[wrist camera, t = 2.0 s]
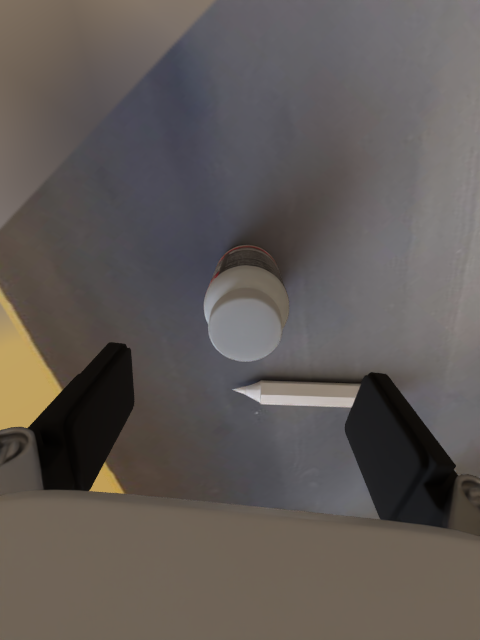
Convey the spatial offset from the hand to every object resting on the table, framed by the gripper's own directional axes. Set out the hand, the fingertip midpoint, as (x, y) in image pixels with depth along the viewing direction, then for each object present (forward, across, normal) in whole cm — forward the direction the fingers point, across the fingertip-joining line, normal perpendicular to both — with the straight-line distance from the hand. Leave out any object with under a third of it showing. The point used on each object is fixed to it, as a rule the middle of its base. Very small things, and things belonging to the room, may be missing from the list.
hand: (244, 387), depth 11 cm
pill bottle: (+14, 0, -1) cm, 14 cm away
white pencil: (+14, -8, +10) cm, 19 cm away
